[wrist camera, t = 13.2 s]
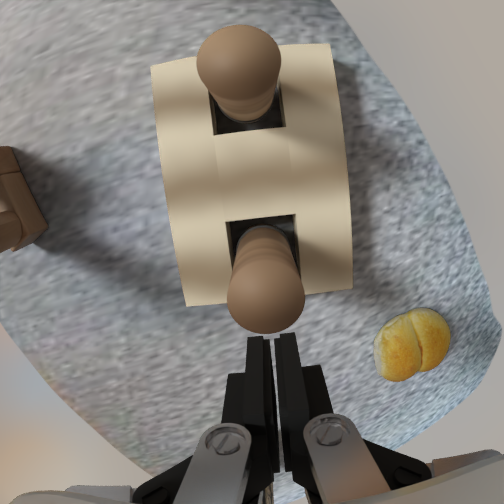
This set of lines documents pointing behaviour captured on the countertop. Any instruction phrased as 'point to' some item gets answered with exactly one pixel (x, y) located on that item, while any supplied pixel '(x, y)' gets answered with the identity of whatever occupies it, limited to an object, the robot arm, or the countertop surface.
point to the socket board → (255, 174)
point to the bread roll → (411, 344)
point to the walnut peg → (265, 282)
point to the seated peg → (240, 71)
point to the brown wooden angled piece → (16, 206)
